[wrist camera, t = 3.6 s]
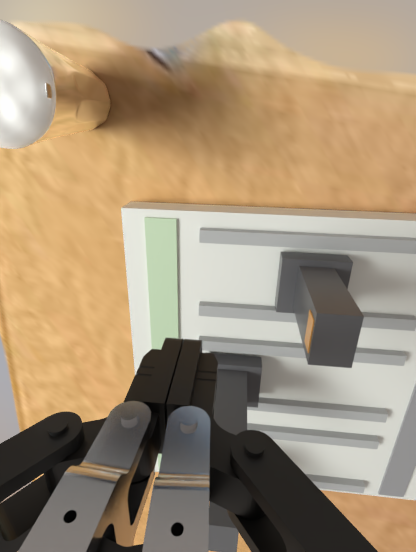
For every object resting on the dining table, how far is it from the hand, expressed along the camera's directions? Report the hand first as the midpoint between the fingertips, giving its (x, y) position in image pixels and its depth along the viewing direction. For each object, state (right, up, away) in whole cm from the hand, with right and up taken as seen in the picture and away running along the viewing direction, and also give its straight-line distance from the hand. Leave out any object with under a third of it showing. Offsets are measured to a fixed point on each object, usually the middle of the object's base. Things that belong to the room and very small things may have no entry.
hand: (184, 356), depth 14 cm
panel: (+8, -3, +13) cm, 15 cm away
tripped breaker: (+7, +3, +7) cm, 11 cm away
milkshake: (-6, +14, +7) cm, 17 cm away
